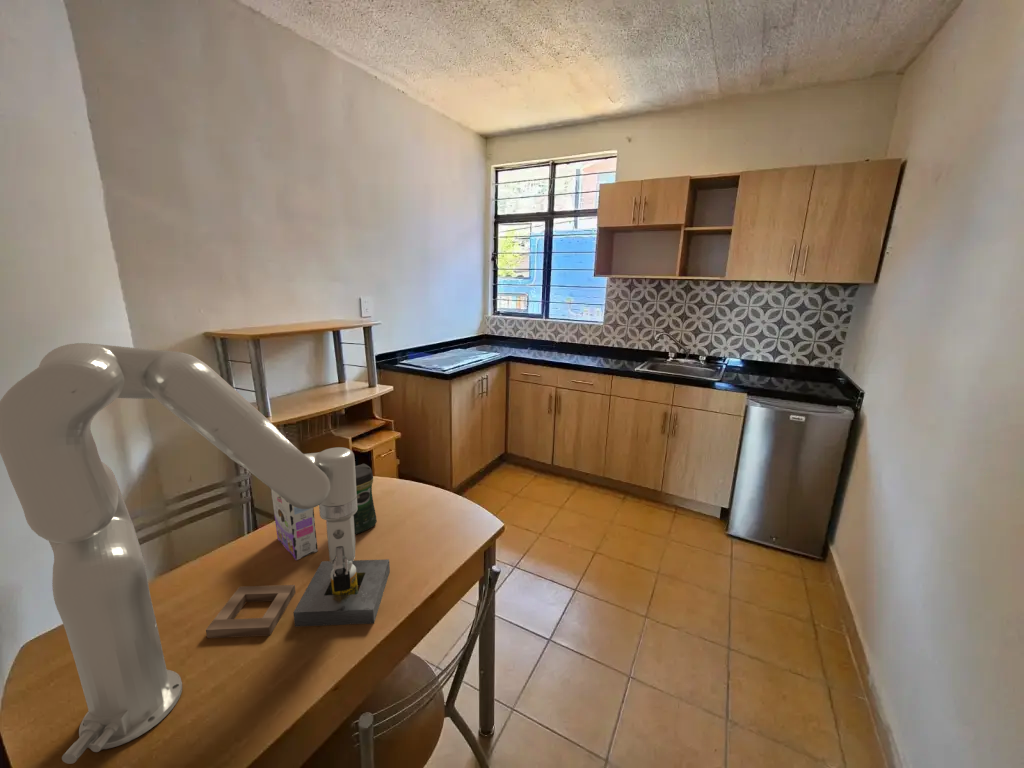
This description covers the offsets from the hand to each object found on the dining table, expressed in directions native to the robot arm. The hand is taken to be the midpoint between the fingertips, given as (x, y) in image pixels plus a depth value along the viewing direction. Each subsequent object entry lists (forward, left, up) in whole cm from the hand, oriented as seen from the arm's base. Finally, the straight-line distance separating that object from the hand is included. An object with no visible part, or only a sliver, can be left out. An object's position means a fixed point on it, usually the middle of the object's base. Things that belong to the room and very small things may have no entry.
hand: (343, 574), depth 92 cm
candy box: (+20, +19, -6) cm, 28 cm away
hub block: (0, 0, -6) cm, 6 cm away
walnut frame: (-4, +18, -6) cm, 19 cm away
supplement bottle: (0, 0, -6) cm, 6 cm away
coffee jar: (+28, +5, -6) cm, 29 cm away
